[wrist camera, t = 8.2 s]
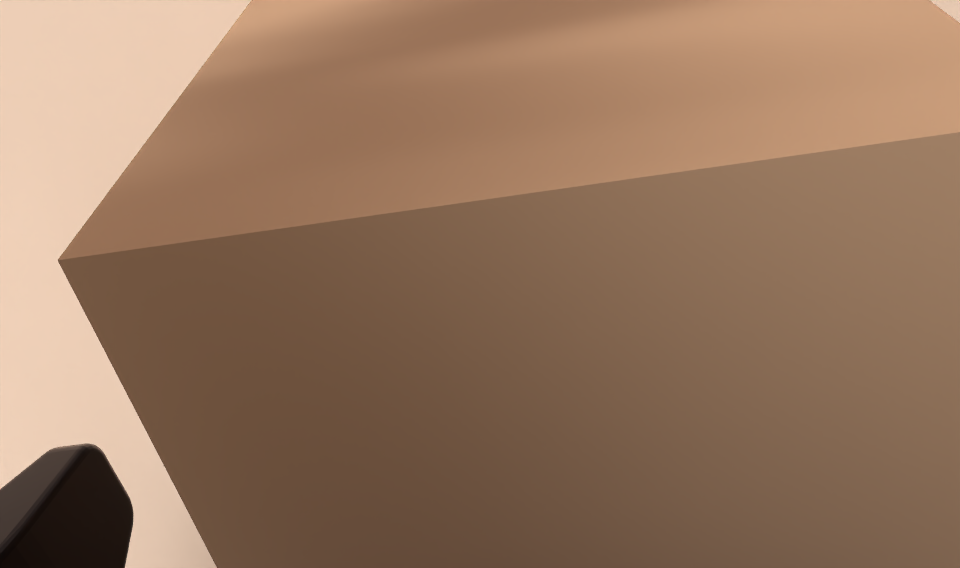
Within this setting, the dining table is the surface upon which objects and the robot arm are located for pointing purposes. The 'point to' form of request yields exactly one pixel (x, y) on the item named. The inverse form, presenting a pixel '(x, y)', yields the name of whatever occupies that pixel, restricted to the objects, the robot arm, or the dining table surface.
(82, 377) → the dining table surface
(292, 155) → the walnut top rail
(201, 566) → the dining table surface
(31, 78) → the dining table surface
